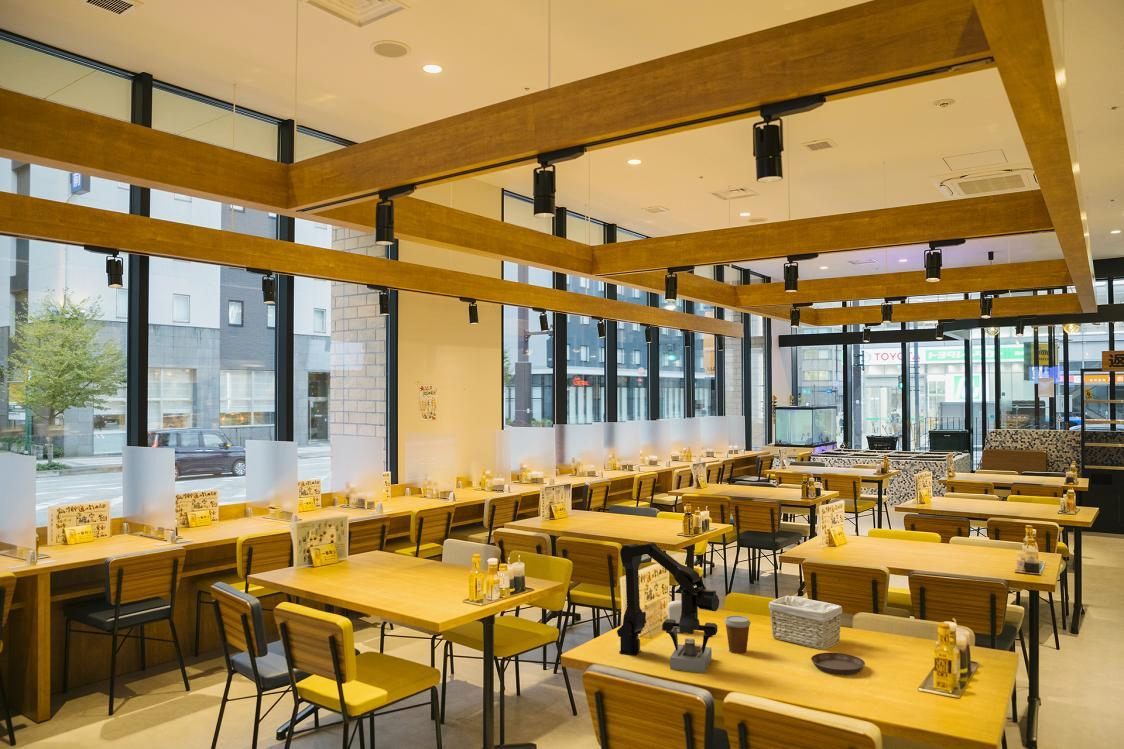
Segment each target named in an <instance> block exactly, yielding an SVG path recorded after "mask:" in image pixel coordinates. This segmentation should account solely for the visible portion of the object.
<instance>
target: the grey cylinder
mask: <svg viewBox="0 0 1124 749" xmlns="http://www.w3.org/2000/svg"><path fill="white" fill-rule="evenodd" d="M684 644H685V656H693V657H695V644H696V641H695V638H685V639H684Z"/></svg>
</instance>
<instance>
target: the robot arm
mask: <svg viewBox="0 0 1124 749" xmlns="http://www.w3.org/2000/svg"><path fill="white" fill-rule="evenodd" d="M619 555H620V561H621V564H622V565H623V567H624V569H625V594H626V595H625V596H626V609H625V612H624V614H623V619H622V625H621V626H620V627H619V628H618V629H617V630H616V634H617V636H618V638H620V650H619V651H618V652H619V654H622V655H623V654H624V655H630V656H631V655H632V656H637V654H638V653H639V652H640V651H641V639H640V636H639V635H640V634H641V633H642V631H643V629H644V628H645V627H646V624H647V623H648V622H647V620H646V617H647V613H646V611H643V610H642V608H641V605H640V580H639V578H640V576H639V567H640V565H641V562H642V558H643V556H645V555H646V556H648V557H650V558H651V559H652V560H653V561H655V562H656V563H657V564H659V565H660V566H661V567H663V569H665V570H666V571H667V572H668V573H670V574H671V576H673V578H674V580H675V582H676V583H677V584H678V585H679V586H678V588H677V589H676V590H675V593H676V594H680V599H681V617H680V622H679V623H676V620H672V619H668V618H665V620H664V621H663V622H662V623H661V624H662V625H661V630H662V631H665V633H666V634H669V636H670V638H671V640H672V643H673V645H674V648H675V649H676V651H678V644H679V641H678V640H679V638H678V633H680V634H688V635H693V633H695V632H694V631H701V632H703V636H702V638H703V639H702V645H703V646H702V653H704V651H705V648H706V647H707V644H708V641H709V639H710V638H712V637H713V636H716V635H717V632H718V624H717V623H716V622H705V624H704V625H703V624H700V619H699V610H704V611H709V612H710V611H711V612H717V611H718V609H719V607H720V599H719V595H718V594H717V591H716V590H709V589H707V588H706V585H705V584H704V583H703V581H702V579H701V578H700V573H699V572H698V571H697V570H695V569H693V568H692V567H689V566H688V565H684V564H681V563H680V562H679V561H678V560H676V559H674V557H672V556H671V555H669V554H668V553H667V552H665V551H664V550H663V549H662V548H660V547H659V546H658V544H656V543H655V542H652V541H651V542H648V543H647V542H646V543H644V544H638V543H630V544H626V545H623V546H622V547H621V548H620V550H619ZM677 629H679V632H677Z"/></svg>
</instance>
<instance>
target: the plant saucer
mask: <svg viewBox="0 0 1124 749" xmlns="http://www.w3.org/2000/svg"><path fill="white" fill-rule="evenodd" d="M810 660H811V662H812V663H813V665H814V666H815V668H817V669H818V670H819V671H821V672H823V673H826V674H829V675H836V676H853V675H857V674H858V673H860V672H861V671H862V670H863V669H864V667H865V666H866V662H865V660H864V659H862V658H861V657H858V656H855V655H852V654H849V653H842V652H833V651H832V652H821V653H816V654H814V655H812V656H811V657H810Z"/></svg>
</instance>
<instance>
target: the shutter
mask: <svg viewBox="0 0 1124 749" xmlns="http://www.w3.org/2000/svg"><path fill="white" fill-rule="evenodd" d="M682 645H683V650H685V643H683V644H682ZM702 646H703V644H698V643H695V651H701V649H702Z"/></svg>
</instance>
